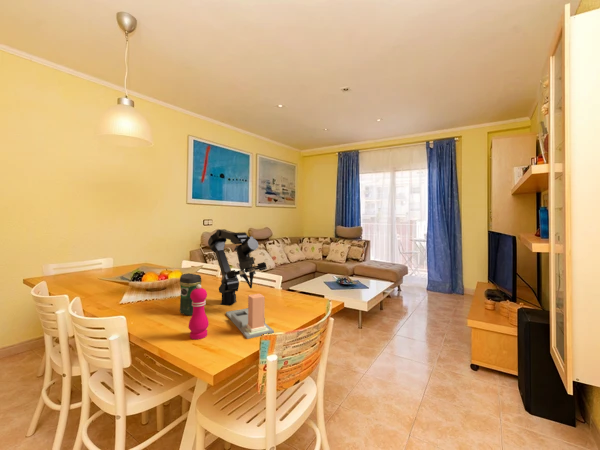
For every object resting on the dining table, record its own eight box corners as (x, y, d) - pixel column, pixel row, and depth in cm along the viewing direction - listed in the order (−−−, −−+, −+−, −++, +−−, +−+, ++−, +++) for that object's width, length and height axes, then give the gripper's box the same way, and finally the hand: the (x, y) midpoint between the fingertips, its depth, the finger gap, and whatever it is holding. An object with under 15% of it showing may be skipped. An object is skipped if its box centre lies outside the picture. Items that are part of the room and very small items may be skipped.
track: (225, 313, 128) (225, 307, 128) (248, 310, 134) (248, 304, 134) (247, 338, 102) (247, 331, 102) (273, 332, 108) (273, 325, 108)
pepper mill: (191, 332, 107) (192, 282, 107) (210, 331, 108) (210, 281, 108) (185, 340, 100) (185, 286, 100) (205, 340, 101) (206, 286, 100)
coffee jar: (204, 312, 130) (204, 273, 130) (190, 317, 124) (190, 276, 123) (191, 308, 135) (191, 271, 135) (176, 313, 128) (176, 274, 128)
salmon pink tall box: (246, 326, 110) (246, 294, 110) (260, 323, 113) (260, 293, 113) (251, 332, 105) (251, 298, 105) (266, 329, 108) (266, 296, 108)
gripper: (221, 258, 123) (228, 292, 119) (262, 248, 126) (270, 280, 122) (225, 262, 133) (232, 294, 129) (262, 253, 137) (270, 283, 133)
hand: (251, 288), depth 128 cm, fingers closed
